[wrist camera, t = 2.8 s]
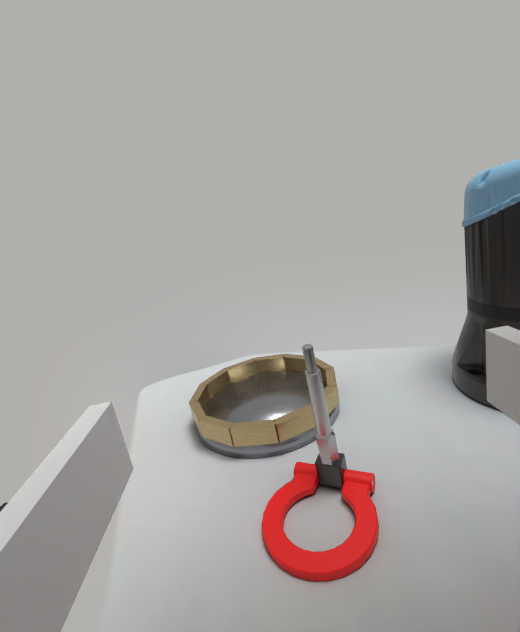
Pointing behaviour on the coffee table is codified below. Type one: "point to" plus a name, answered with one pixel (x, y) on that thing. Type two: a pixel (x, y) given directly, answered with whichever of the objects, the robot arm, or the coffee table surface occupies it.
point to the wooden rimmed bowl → (261, 406)
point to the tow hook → (305, 482)
